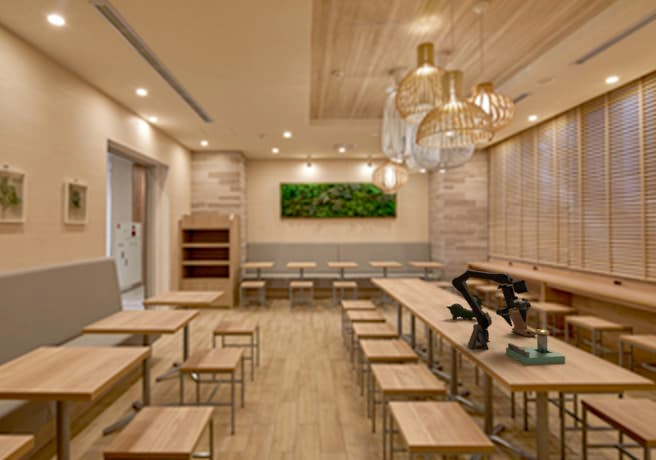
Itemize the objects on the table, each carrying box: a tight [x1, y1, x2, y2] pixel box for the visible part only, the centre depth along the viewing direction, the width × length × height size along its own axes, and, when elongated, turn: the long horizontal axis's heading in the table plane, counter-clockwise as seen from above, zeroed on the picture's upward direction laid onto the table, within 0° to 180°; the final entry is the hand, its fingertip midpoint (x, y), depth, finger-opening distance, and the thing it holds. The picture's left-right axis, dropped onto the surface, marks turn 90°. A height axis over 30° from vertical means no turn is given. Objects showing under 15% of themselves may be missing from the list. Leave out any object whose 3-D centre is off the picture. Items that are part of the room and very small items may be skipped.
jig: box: [505, 343, 566, 365], centre depth 189 cm, size 20×16×5 cm
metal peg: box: [534, 328, 550, 354], centre depth 190 cm, size 6×6×13 cm
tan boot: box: [509, 309, 537, 337], centre depth 232 cm, size 15×12×15 cm
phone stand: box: [467, 323, 490, 351], centre depth 205 cm, size 9×6×12 cm, turn 88°
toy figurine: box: [445, 293, 484, 321], centre depth 270 cm, size 9×19×25 cm
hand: (518, 324), depth 206 cm, fingers open, 9 cm apart
